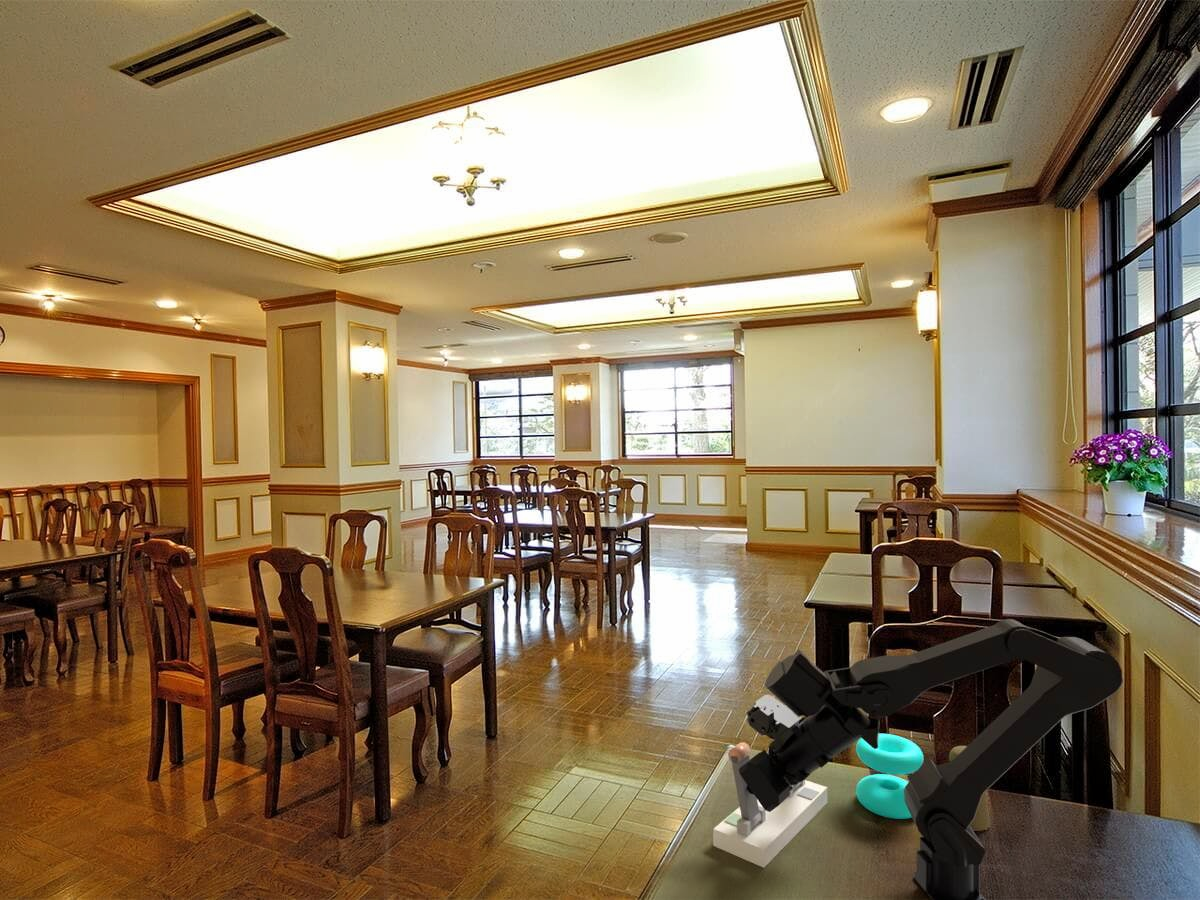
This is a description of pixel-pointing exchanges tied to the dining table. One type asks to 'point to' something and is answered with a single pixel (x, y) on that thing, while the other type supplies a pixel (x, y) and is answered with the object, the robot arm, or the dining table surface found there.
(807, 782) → the switch unit
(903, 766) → the teal curved piece
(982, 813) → the cork
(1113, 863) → the dining table surface
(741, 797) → the terracotta lever
